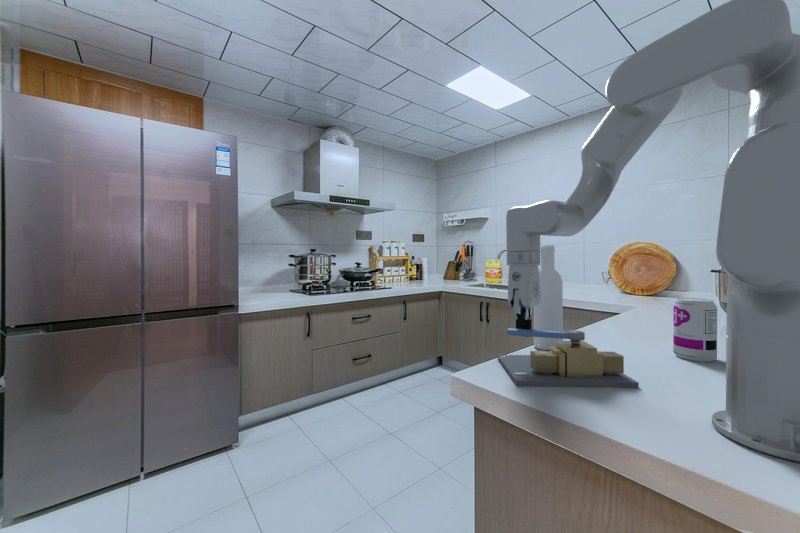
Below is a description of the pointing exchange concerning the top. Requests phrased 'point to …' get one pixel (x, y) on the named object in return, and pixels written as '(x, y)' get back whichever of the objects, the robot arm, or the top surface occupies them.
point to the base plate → (556, 376)
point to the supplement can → (695, 329)
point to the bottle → (549, 300)
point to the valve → (576, 361)
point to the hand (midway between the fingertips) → (523, 335)
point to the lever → (548, 333)
